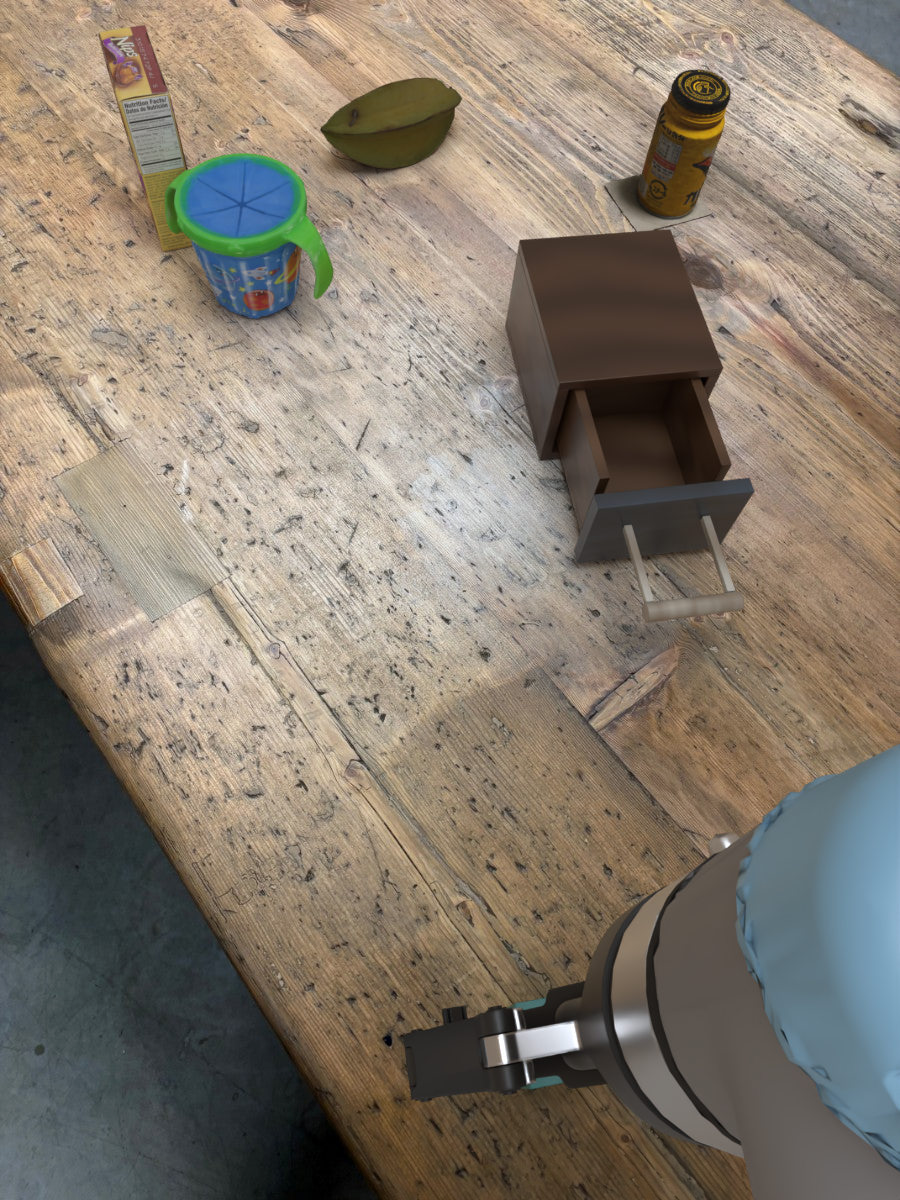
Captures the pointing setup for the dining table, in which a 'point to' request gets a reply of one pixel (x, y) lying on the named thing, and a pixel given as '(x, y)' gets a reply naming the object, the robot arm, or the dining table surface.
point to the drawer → (651, 482)
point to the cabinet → (602, 321)
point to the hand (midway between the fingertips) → (586, 1033)
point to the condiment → (677, 155)
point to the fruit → (394, 123)
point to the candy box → (146, 121)
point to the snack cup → (248, 230)
